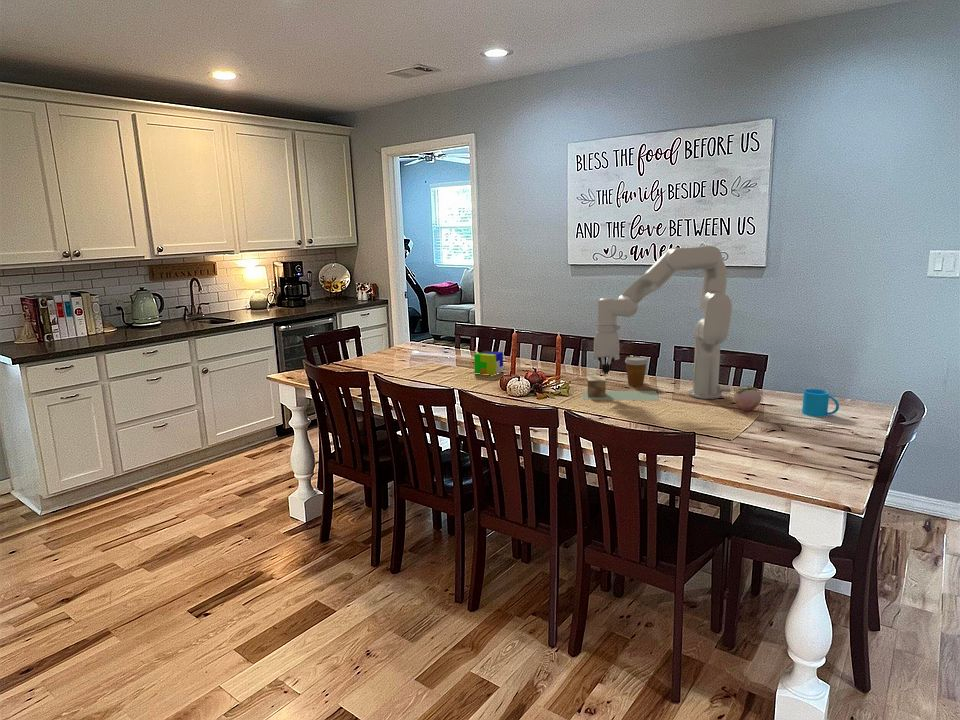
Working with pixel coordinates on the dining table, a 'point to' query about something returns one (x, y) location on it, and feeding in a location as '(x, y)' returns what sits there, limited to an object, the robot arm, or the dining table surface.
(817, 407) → the mug
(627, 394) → the mat
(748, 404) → the decorative fruit
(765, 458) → the dining table surface
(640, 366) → the disposable coffee cup
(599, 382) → the walnut block
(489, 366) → the puzzle toy
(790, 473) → the dining table surface
